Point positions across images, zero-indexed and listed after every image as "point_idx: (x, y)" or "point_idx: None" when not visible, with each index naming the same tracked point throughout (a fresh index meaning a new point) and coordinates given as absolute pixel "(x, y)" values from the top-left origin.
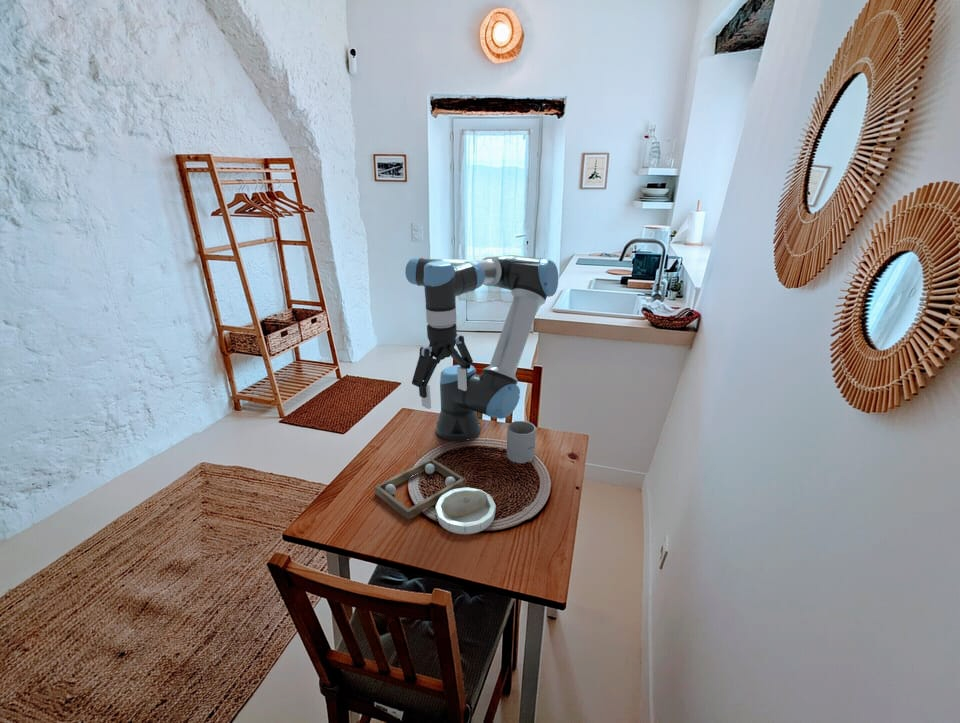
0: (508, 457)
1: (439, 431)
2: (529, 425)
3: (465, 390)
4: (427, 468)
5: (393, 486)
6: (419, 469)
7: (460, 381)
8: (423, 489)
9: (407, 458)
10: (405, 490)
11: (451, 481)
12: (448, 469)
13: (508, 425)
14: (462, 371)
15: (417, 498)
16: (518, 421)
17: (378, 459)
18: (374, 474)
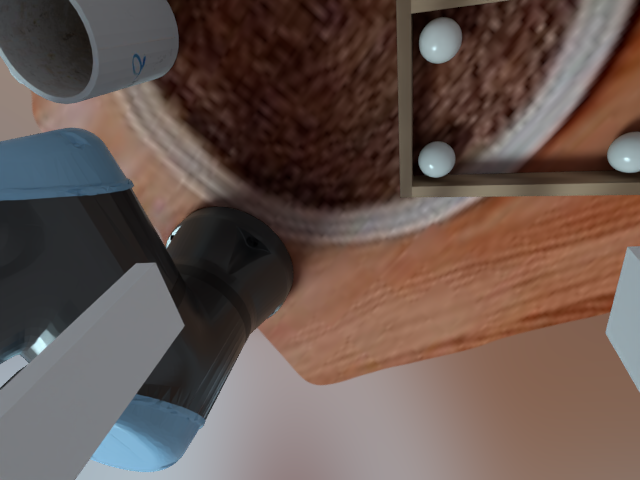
0: (175, 41)
1: (288, 284)
2: (9, 44)
3: (147, 264)
4: (451, 158)
5: (632, 147)
6: (463, 180)
7: (128, 358)
8: (522, 90)
9: (433, 256)
10: (570, 129)
11: (448, 24)
12: (402, 100)
13: (87, 93)
14: (7, 454)
15: (582, 58)
16: (39, 90)
17: (498, 304)
18: (566, 260)
